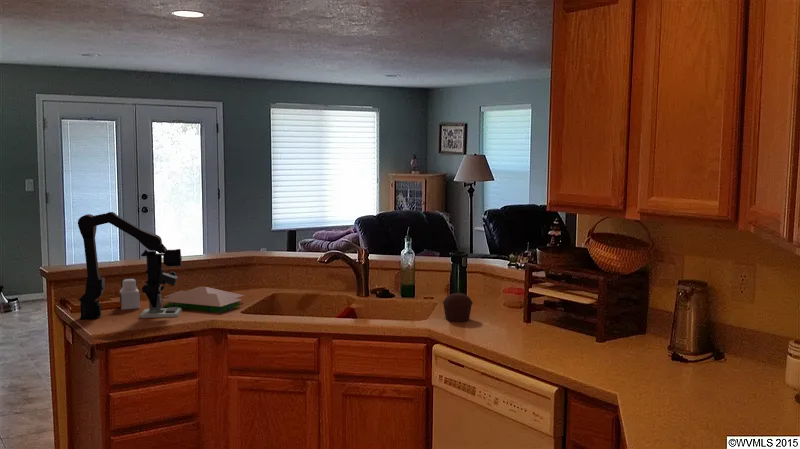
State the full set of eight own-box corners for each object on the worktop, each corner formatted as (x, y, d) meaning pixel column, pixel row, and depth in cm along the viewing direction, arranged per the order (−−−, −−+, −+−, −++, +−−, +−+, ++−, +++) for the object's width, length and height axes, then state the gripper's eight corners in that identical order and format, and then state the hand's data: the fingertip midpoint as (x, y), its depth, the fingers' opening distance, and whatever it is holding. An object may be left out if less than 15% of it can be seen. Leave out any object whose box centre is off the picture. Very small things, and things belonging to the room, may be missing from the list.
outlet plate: (139, 317, 280) (139, 312, 280) (145, 311, 291) (145, 306, 291) (177, 316, 282) (177, 311, 282) (181, 310, 293) (181, 305, 293)
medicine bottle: (120, 306, 301) (119, 278, 300) (138, 305, 304) (137, 276, 303) (121, 310, 295) (120, 280, 294) (139, 308, 298) (139, 279, 297)
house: (191, 298, 322) (190, 279, 321) (253, 303, 309) (253, 284, 308) (154, 308, 301) (154, 288, 300) (220, 314, 288) (220, 294, 287)
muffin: (458, 324, 271) (459, 297, 270) (436, 319, 278) (436, 293, 277) (478, 319, 279) (478, 293, 278) (456, 314, 287) (456, 289, 286)
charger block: (149, 310, 284) (149, 295, 283) (151, 308, 288) (151, 293, 287) (160, 310, 285) (159, 295, 284) (161, 308, 289) (161, 293, 288)
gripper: (171, 270, 277) (172, 310, 278) (179, 263, 295) (180, 301, 296) (141, 271, 275) (142, 311, 276) (150, 263, 293) (151, 301, 295)
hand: (155, 306), depth 286 cm, fingers closed on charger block, 4 cm apart
